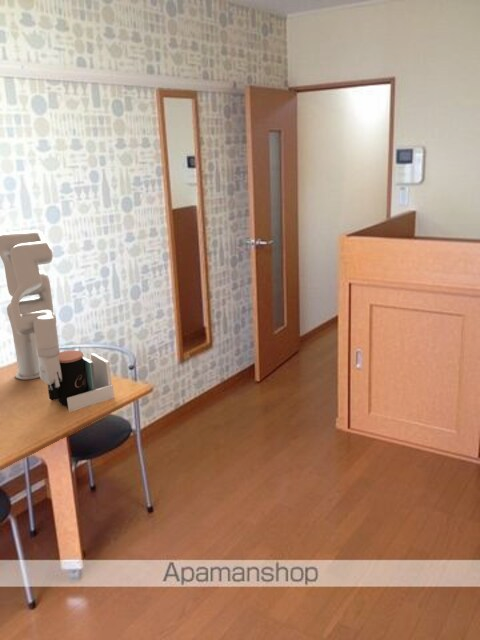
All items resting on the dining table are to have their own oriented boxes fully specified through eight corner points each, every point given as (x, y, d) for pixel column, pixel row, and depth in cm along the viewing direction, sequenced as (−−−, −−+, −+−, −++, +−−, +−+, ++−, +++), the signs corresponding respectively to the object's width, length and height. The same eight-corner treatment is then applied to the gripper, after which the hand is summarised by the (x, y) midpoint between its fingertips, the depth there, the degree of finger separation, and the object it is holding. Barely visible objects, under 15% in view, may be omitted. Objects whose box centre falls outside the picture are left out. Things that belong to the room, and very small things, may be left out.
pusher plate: (80, 391, 227) (75, 354, 223) (83, 390, 228) (78, 353, 224) (94, 401, 218) (89, 363, 214) (97, 400, 219) (92, 362, 215)
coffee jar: (81, 408, 214) (75, 360, 209) (53, 407, 216) (47, 360, 210) (93, 395, 224) (87, 350, 219) (66, 394, 226) (60, 349, 221)
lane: (53, 398, 223) (48, 363, 219) (96, 386, 233) (92, 352, 229) (69, 411, 211) (64, 374, 207) (114, 397, 222) (110, 362, 218)
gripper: (29, 348, 213) (36, 395, 218) (45, 358, 202) (52, 408, 207) (50, 343, 217) (56, 390, 223) (67, 353, 206) (73, 402, 211)
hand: (54, 398), depth 215 cm, fingers closed
